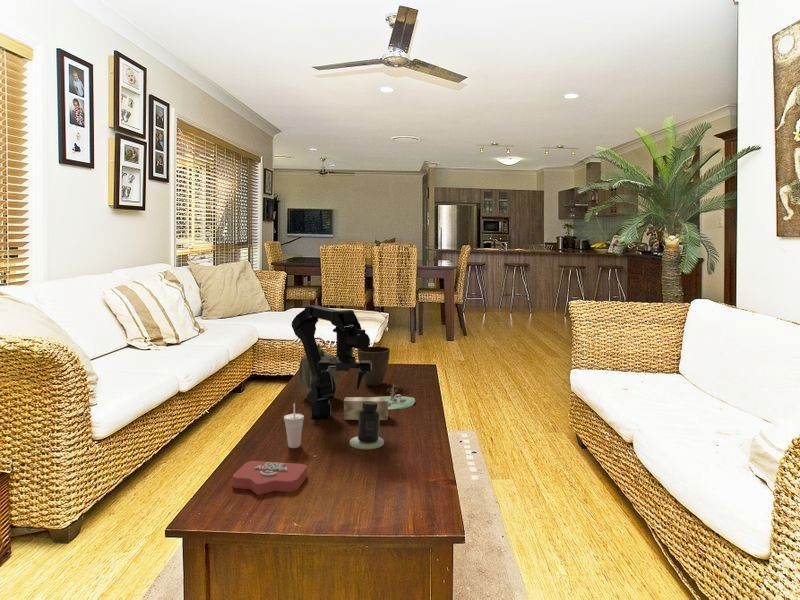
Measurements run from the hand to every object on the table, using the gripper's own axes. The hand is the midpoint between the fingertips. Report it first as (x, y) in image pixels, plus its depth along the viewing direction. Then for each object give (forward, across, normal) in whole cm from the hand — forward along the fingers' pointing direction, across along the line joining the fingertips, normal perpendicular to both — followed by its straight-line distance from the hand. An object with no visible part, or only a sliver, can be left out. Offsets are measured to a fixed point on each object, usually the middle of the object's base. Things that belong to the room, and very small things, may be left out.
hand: (344, 389), depth 203 cm
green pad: (+13, +9, -18) cm, 24 cm away
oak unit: (+13, +7, +9) cm, 17 cm away
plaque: (+14, -16, -49) cm, 53 cm away
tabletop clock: (+13, -15, +37) cm, 42 cm away
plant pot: (+13, +7, +60) cm, 62 cm away
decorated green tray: (+14, +13, +30) cm, 35 cm away
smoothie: (+13, -14, -21) cm, 28 cm away
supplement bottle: (+12, +9, -18) cm, 24 cm away
